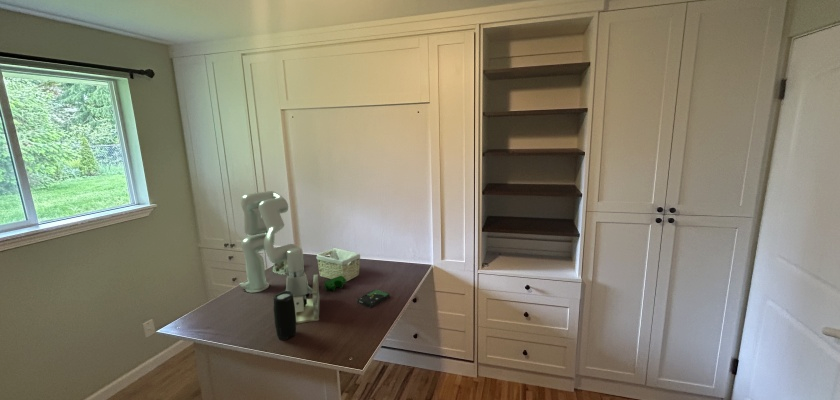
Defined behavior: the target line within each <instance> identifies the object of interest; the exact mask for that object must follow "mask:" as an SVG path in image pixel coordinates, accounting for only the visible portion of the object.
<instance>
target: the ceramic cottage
mask: <svg viewBox="0 0 840 400" xmlns="http://www.w3.org/2000/svg"><path fill="white" fill-rule="evenodd" d="M287 270H288V266H287V260H286V261H283V262H280V263H273V267H272V273H273V272H274V274H277V273H278V275H282V274H283V275H282V276H288V275H287V274H285V272H286V271H287Z"/></svg>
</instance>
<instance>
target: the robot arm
mask: <svg viewBox="0 0 840 400" xmlns="http://www.w3.org/2000/svg"><path fill="white" fill-rule="evenodd" d="M240 205H241V209H242V211H243V229H244V233H245V234H246V235H247V237H245V238H244V239H242V241H241V243H240V245H241V249H242V254H243V256H244V262H245V270H246V279H247V281H245V282H240V283H239V286H240V288H245V289H244V290H245V291H246V292H247V293H251V294H253V293H259V292H263V291H265V290H267V289H268V288H270V283H269V282H267V279H266V270H265V261H264V257H263V255H261V254H260V253H259V252H262V251H265V253H266V256H267V257H268V260H269V261H270V262H271V264H274V263H280V262H283V261H286V260H287V266H288V270H287V271H286V272H285V274H287V275H286V280H285V281H286V282H285V283H286V285H285V290H284V291H290V292H291V293H292V294H293V296H301V295H303V297H304V307H305V306H306V304H307V299H309V297H310V295H311V294H312V290H313V288H312V287H310V286H309V281H308V277H307V276H308V275H307V274H306V273H305V264H304V252H303V249H302V248H301V247H298V246H296V244H294V243H288V244H285V245H281V246H277V247H275V246H274V245H275V237H276V236H275V234H277V233H278V232H280V231H281V230H283V228H284V227H285V222H284V220H283V217H282V215H281V214H284V213H286V212H288V211H289V203H288V202H287V200H286V199H285V198H284V196H282V195H280V194H279V193H277V192H275V191H273V190H267V191H260V192H253V193H247V194H244V195H242V196H241V198H240Z"/></svg>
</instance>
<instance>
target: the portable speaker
mask: <svg viewBox="0 0 840 400" xmlns="http://www.w3.org/2000/svg"><path fill="white" fill-rule="evenodd" d="M272 299H273V317H274V319H273V320H274V326H275V331H276V336H277V339H278V340H280V341H287V340H288V339H290V338H291V337H295V336H296V334H297V324H296V314H295V305H294V299H293V294H292V293H291V292H290V291H285V290H283V291H281V292H279V293H277V294H275V295H273V298H272Z"/></svg>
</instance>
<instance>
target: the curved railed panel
mask: <svg viewBox="0 0 840 400" xmlns="http://www.w3.org/2000/svg"><path fill="white" fill-rule="evenodd" d="M311 294H312V298H307V304H306V306H305V307H304V311H303V312H295V314H296V325H297V324H302V323H308V322H316V321H319V320H320V317H319V316H320V300H321V299H320V289H319V274H318V273H317V274H313V281H312V293H311Z"/></svg>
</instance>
